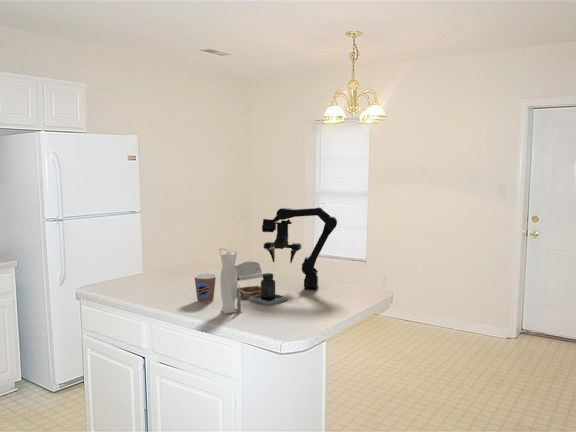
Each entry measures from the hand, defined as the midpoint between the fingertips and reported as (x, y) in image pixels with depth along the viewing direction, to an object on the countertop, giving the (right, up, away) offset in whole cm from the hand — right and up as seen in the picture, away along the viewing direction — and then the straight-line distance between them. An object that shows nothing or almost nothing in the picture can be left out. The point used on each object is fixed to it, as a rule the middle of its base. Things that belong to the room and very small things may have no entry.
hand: (282, 262), depth 263 cm
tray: (-6, -16, -26) cm, 31 cm away
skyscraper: (-22, -18, -43) cm, 52 cm away
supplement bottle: (-6, -15, -26) cm, 30 cm away
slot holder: (-15, -15, -15) cm, 26 cm away
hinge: (-19, -11, +25) cm, 34 cm away
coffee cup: (-35, -16, -26) cm, 47 cm away
